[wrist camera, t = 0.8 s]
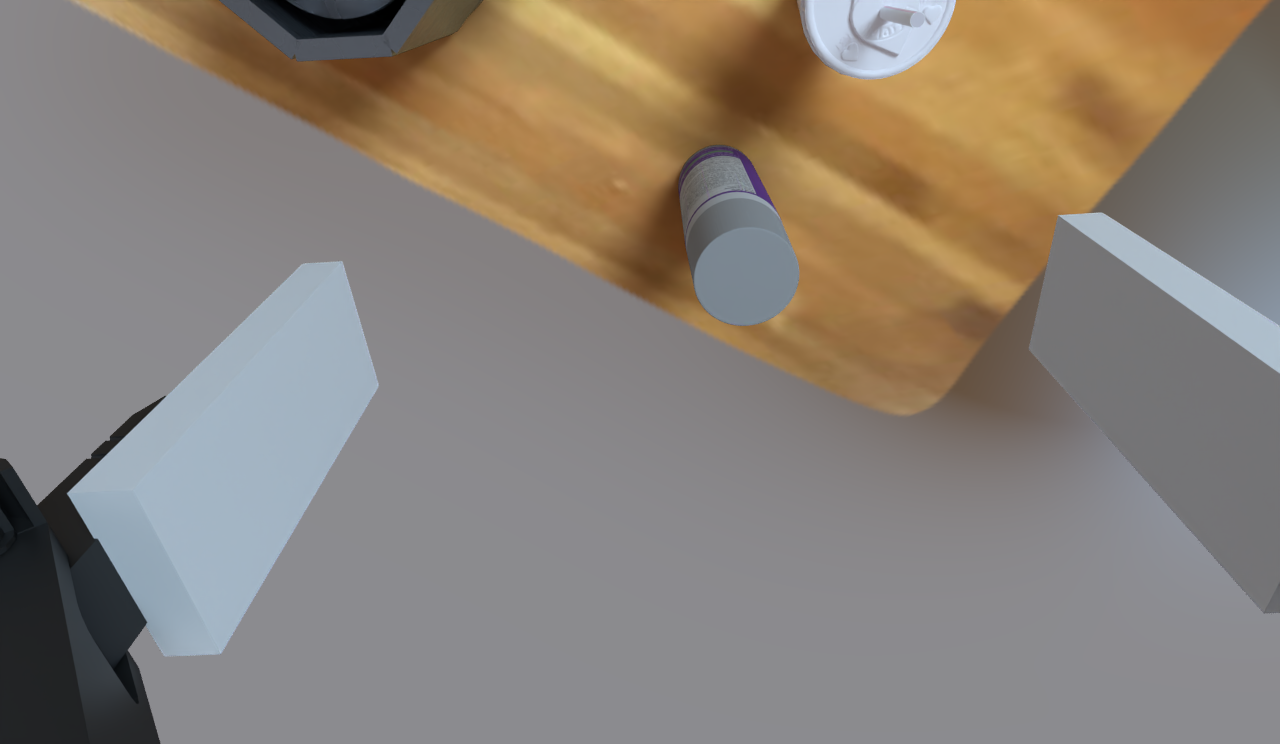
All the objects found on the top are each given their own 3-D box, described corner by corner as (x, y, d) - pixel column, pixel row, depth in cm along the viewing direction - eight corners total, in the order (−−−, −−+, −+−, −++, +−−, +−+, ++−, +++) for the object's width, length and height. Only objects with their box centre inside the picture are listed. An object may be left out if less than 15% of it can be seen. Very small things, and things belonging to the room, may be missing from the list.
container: (762, 214, 46) (808, 317, 32) (685, 229, 46) (701, 337, 33) (751, 136, 43) (795, 213, 30) (671, 153, 44) (680, 237, 31)
